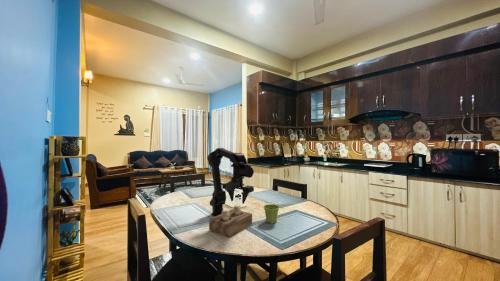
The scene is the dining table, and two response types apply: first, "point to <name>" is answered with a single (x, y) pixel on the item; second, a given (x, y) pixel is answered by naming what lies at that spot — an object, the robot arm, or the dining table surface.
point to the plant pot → (271, 212)
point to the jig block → (230, 223)
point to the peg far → (237, 210)
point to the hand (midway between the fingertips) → (237, 202)
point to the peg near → (225, 215)
